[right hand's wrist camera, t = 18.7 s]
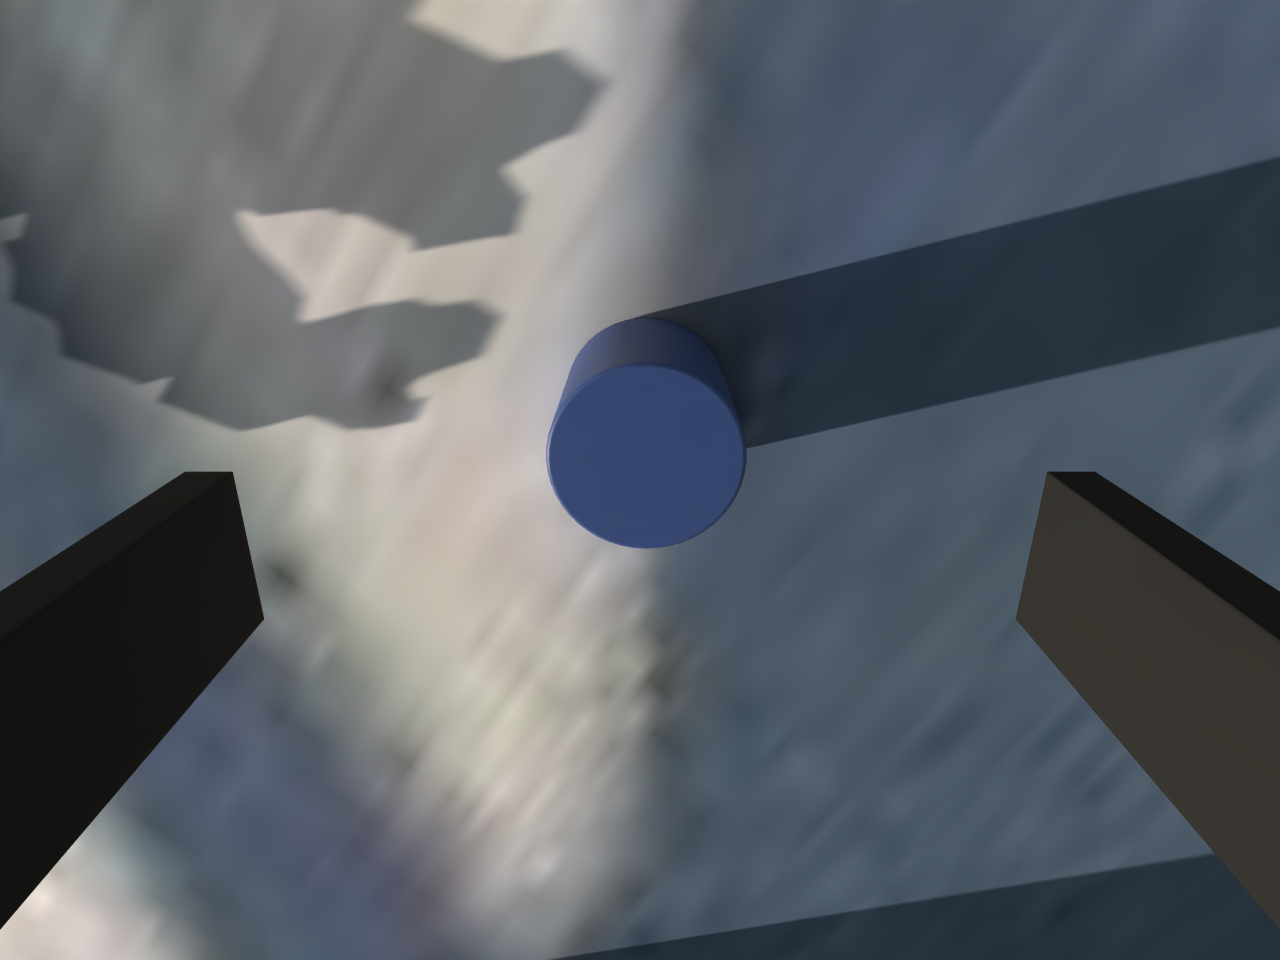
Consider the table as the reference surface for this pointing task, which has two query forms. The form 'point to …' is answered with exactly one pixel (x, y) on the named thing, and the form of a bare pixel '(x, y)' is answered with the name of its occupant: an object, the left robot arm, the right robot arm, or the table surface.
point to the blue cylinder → (646, 436)
